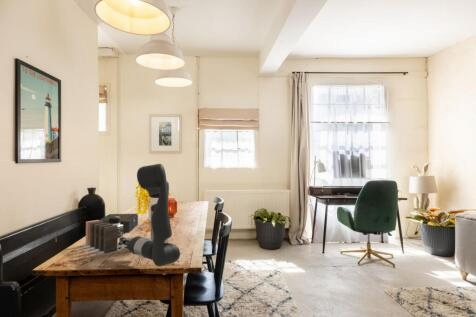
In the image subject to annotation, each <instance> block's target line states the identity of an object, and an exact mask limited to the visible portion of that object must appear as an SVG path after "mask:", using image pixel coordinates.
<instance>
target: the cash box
mask: <svg viewBox="0 0 476 317" xmlns="http://www.w3.org/2000/svg"><path fill="white" fill-rule="evenodd" d="M110 217H120V225H123V234H128V233H130V232H132V231H133V230H134V229H135V228H136V227H137V226H138V224H139V215H138V213H110V214H107V215H106V216H103V217H102V218H100V219H98V220H99V222H100V221H103V223H108V224H109V218H110Z"/></svg>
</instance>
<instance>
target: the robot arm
mask: <svg viewBox="0 0 476 317" xmlns="http://www.w3.org/2000/svg"><path fill="white" fill-rule="evenodd" d="M136 179H137V183H138V184H139V186H140V188H142V189H143V190H145V191H146V192H147V193H148V196H149V197H150V198H153V199H157V202H156V203H154V204H152V205H151V206H150V238H146V237H144V236H140V235H137V236H135V237H124V236H122V237H120V238H118V239H119V240H118V249H121V250H122V249H123V248H124V249H127V250H128V251H129V252H130V253H132V255H133V254H134V255H136V256H138V257H141V258H146V259H148V260H152V262H153V264H154V265H155V266H156V267H163V266H168V265H170V264H173V263H176V262H177V261H178V260H179V259H180V257H181V250H180V248H179V247H178V246H177V245H176V244H174V243H171V242H169V238H171V237H172V236H173V233H172V232H173V231H172V226H171V221H170V220H171V219H170V214H169V195H170V194H169V193H170V183H169V181H168V180H167V174H166V169H165V167H164V165H163V164H162V163H156V164H150V165H143V166H141V167H139V168H138V170H137V172H136Z"/></svg>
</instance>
